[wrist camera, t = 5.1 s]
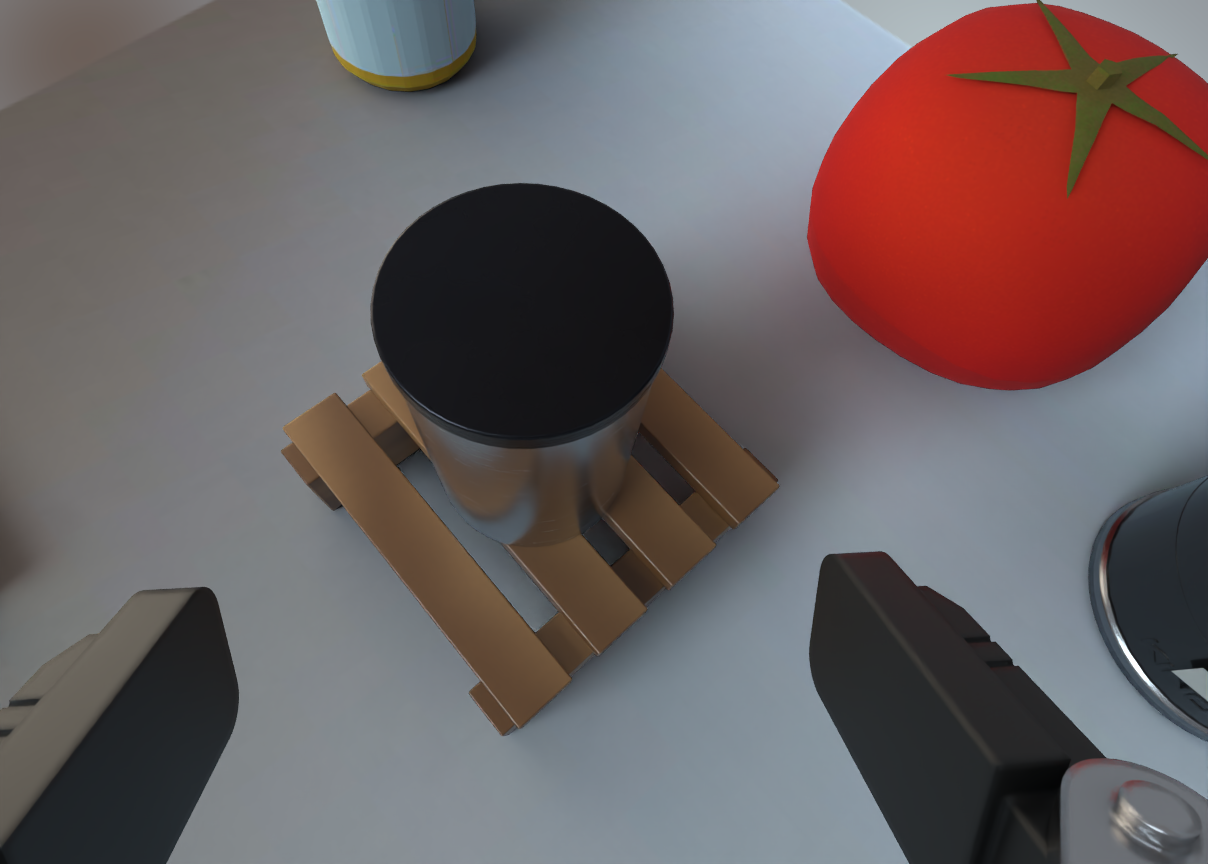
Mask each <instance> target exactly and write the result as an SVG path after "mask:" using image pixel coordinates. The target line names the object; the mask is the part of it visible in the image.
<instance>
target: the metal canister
mask: <svg viewBox="0 0 1208 864" xmlns="http://www.w3.org/2000/svg"><path fill="white" fill-rule="evenodd" d="M673 319H674V307H673V296H672V291H671V287H670V282H669V279H668V277H667V274H666V271H665V268H664V266H663V264H662V262H661V260H660V258H659V257H658V255H657V253H656V251H655V250H654V248H653V247H652V246H651V244H650V243H649V241H648V240H647V239H646V237H645V236H644V235H643V234H642V233H641V232H640V231H639V230H638V229H637V228H636V227H635V226H634V225H633V224H632V223H631V222H629V221H628V220H627V219H626V218H625V217H623V216H622V215H621V214H620V213H618V212H616V211H615V210H613V209H612V208H610V207H609V206H607V205H605V204H603V203H601V202H599V201H597V200H595V199H593V198H591V197H589V196H586V195H583V194H581V193H578V192H575V191H572V190H568V189H564V188H560V187H556V186H549V185H542V184H528V183H515V184H500V185H494V186H488V187H483V188H479V189H476V190H472V191H468V192H465V193H463V194H460V195H458V196H455V197H452V198H450V199H448V200H446V201H444V202H442V203H440V204H438V205H437V206H435V207H433V208H432V209H430V210H429V211H427V212H426V213H424V214H423V215H421V216H420V217H419V218H418V219H416V220H415V221H414V222H413V223H412V224H411V225H410V226H408V227H407V228H406V229H405V231H404V232H403V233H402V234H401V235H400V236H399V237H398V238H397V240H396V241H395V242H394V244H393V245H392V247H391V248H390V250H389V251H388V253H387V254H386V256H385V258H384V260H383V262H382V264H381V266H380V268H379V271H378V273H377V277H376V280H375V283H374V287H373V292H372V299H371V326H372V332H373V337H374V341H375V344H376V347H377V350H378V353H379V356H380V358H381V360H382V362H383V365H384V367H385V369H386V371H387V373H388V374H389V376H390V378H391V380H392V382H393V384H394V385H395V386H396V388H397V389H398V390H399V392H400V393H401V394H402V396H403V397H404V400H405V402H406V404H407V406H408V409H409V411H410V413H411V416H412V418H413V420H414V422H415V425H416V427H417V429H418V432H419V434H420V436H421V438H422V441H423V443H424V445H425V447H426V450H427V452H428V454H429V457H430V459H431V461H432V463H433V466H434V468H435V470H436V472H437V475H438V477H439V479H440V482H441V484H442V486H443V488H444V491H445V493H446V495H447V497H448V499H449V501H450V503H451V505H452V506H453V507H454V509H455V510H456V511H457V513H458V514H459V515H460V516H461V517H462V518H463V519H464V521H465V522H466V523H467V524H469V525H470V526H471V527H473V528H474V529H475V530H476V531H478V532H480V533H481V534H483V535H485V536H486V537H488V538H491V539H493V540H496V541H498V542H501V543H505V544H508V545H512V546H520V547H543V546H551V545H555V544H559V543H562V542H565V541H567V540H570V539H572V538H575V537H577V536H578V535H580V534H582V533H584V532H585V531H587V530H588V529H590V528H591V527H592V526H594V525H595V524H596V523H597V522H598V521H599V520H600V519H601V518H602V517H603V516H604V515H605V514H606V513H607V511H608V510H609V509H610V507H611V506H612V504H613V503H614V501H615V499H616V498H617V496H618V493H619V491H620V488H621V486H622V483H623V480H624V476H625V473H626V470H627V466H628V463H629V460H630V456H631V453H632V450H633V446H634V443H635V440H636V436H637V433H638V430H639V426H640V423H641V419H642V416H643V413H644V409H645V406H646V403H647V399H648V396H649V393H650V389H651V386H652V383H653V382H654V380H655V378H656V377H657V375H658V373H659V371H660V369H661V366H662V364H663V361H664V359H665V356H666V353H667V350H668V346H669V342H670V338H671V334H672V330H673Z"/></svg>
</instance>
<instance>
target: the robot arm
mask: <svg viewBox="0 0 1208 864" xmlns="http://www.w3.org/2000/svg"><path fill="white" fill-rule="evenodd" d="M1089 593H1090V599H1091V605H1092V609H1093V612H1094V616H1095V620H1096V622H1097V625H1098V628H1099V631H1100V633H1101V635H1102V638H1103V640H1104V642H1105V644H1106V646H1107V648H1108V650H1109V652H1110V653H1111V655H1112V657H1113V659H1114V660H1115V662H1116V663H1117V665H1118V666H1119V668H1120V670H1121V671H1122V672H1123V674H1124V675H1125V676H1126V678H1127V679H1128V680H1129V682H1130V683H1131V684H1132V685H1133V686H1134V687H1135V689H1136V690H1137V691H1138V692H1139V693H1140V694H1141V695H1142V696H1143V697H1144V698H1145V699H1146V700H1147V701H1148V702H1149V703H1150V704H1151V705H1152V706H1153V707H1154V708H1155V709H1157V710H1158V711H1159V712H1160V713H1161V714H1162V715H1164V716H1165V717H1166V718H1168V719H1169V720H1170V721H1172V722H1173V723H1174V724H1176V725H1177V726H1179V727H1181V728H1182V729H1184V730H1185V731H1187V732H1189V733H1191V734H1193V735H1194V736H1196V737H1198V738H1200V739H1202V740H1205V741H1207V742H1208V475H1207V476H1204V477H1202V478H1199V479H1197V480H1194V481H1191V482H1189V483H1186V484H1184V485H1181V486H1178V487H1176V488H1171V489H1166V490H1161V491H1158V492H1155V493H1152V494H1149V495H1147V496H1144V497H1142V498H1139V499H1137V500H1134V501H1132V502H1130V503H1128V504H1126V505H1125V506H1123V507H1122V508H1120V509H1119V510H1118V511H1116V512H1115V513H1114V514H1113V515H1112V516H1111V517H1110V518H1109V519H1108V520H1107V521H1106V523H1105V524H1104V526H1103V527H1102V528H1101V530H1100V532H1099V534H1098V536H1097V538H1096V540H1095V543H1094V545H1093V548H1092V553H1091V557H1090V563H1089ZM809 658H810V668H811V673H812V677H813V681H814V684H815V687H816V690H817V692H818V694H819V696H820V698H821V700H822V702H823V704H824V706H825V707H826V709H827V711H828V713H829V715H830V717H831V719H832V721H833V722H834V724H835V726H836V728H837V730H838V732H839V734H840V735H841V737H842V739H843V741H844V743H845V745H846V747H847V748H848V750H849V752H850V754H851V756H852V758H853V760H854V762H855V763H856V765H857V767H858V769H859V771H860V773H861V775H862V776H863V778H864V780H865V782H866V784H867V786H868V788H869V789H870V791H871V793H872V795H873V797H874V799H875V801H876V802H877V804H878V806H879V808H880V810H881V812H882V814H883V816H884V817H885V819H886V821H887V823H888V825H889V827H890V829H891V830H892V832H893V834H894V836H895V838H896V840H897V842H898V843H899V845H900V847H901V849H902V851H903V853H904V855H905V857H906V858H907V860H908V862H909V864H1208V800H1207V799H1205V798H1204V797H1203V796H1201V795H1200V794H1198V793H1197V792H1195V791H1194V790H1192V789H1191V788H1189V787H1187V786H1186V785H1184V784H1182V783H1181V782H1179V781H1177V780H1175V779H1173V778H1171V777H1169V776H1167V775H1165V774H1163V773H1160V772H1158V771H1155V770H1153V769H1150V768H1148V767H1145V766H1142V765H1138V764H1135V763H1132V762H1127V761H1122V760H1117V759H1107V758H1106V757H1105V756H1104V755H1103V754H1102V753H1101V752H1100V751H1099V750H1098V749H1097V748H1096V747H1095V745H1094V744H1093V743H1092V742H1091V741H1090V740H1089V739H1088V738H1087V737H1086V736H1085V735H1084V734H1083V733H1082V732H1081V731H1080V730H1079V729H1078V728H1077V727H1076V726H1075V725H1074V724H1073V722H1072V721H1071V720H1070V719H1069V718H1068V717H1067V716H1066V715H1065V714H1064V713H1063V712H1062V711H1061V710H1060V709H1059V708H1058V707H1057V706H1056V705H1055V704H1054V703H1053V702H1052V700H1051V699H1050V698H1049V697H1048V696H1047V695H1046V694H1045V693H1044V692H1043V691H1042V690H1041V689H1040V688H1039V687H1038V686H1037V685H1036V684H1035V683H1034V682H1033V681H1032V680H1031V679H1030V677H1029V676H1028V675H1027V674H1026V673H1025V672H1024V671H1023V670H1022V669H1021V668H1020V667H1019V666H1014V665H1013V662H1012V659H1011V658H1010V657H1009V655H1008V654H1007V653H1006V652H1005V651H1004V650H1003V649H1002V648H1001V647H1000V646H999V645H998V644H997V643H996V642H991V640H990V636H989V635H988V633H987V632H986V631H985V630H984V629H983V628H982V627H981V626H980V625H979V624H978V623H977V622H976V621H975V620H974V619H973V618H972V617H971V616H970V615H969V614H968V613H967V612H966V610H965V609H964V608H962V607H960V606H959V605H957V604H956V603H954V602H952V601H951V600H949V599H947V598H946V597H944V596H942V595H941V594H939V593H937V592H936V591H934V590H932V589H931V588H929V587H928V586H916V585H915V584H914V583H913V581H912V580H911V579H910V578H909V577H908V576H907V575H906V574H905V573H904V571H903V570H902V569H901V568H900V567H899V566H898V565H897V564H896V562H895V561H894V560H893V559H892V558H891V557H890V556H889V555H888V554H886V553H885V552H881V551H879V552H861V553H843V554H829V555H827V556H826V557H825V558H824V559H823V561H822V564H821V568H820V574H819V581H818V588H817V595H816V602H815V610H814V617H813V624H812V631H811V638H810V647H809ZM9 702H10V704H9V707H8V708H2V709H1V710H0V864H166V863H167V861H168V859H169V857H170V855H171V853H172V851H173V849H174V847H175V845H176V843H177V841H178V839H179V837H180V835H181V833H182V831H183V829H184V827H185V825H186V823H187V821H188V819H189V817H190V815H191V813H192V812H193V810H194V808H195V806H196V804H197V802H198V800H199V798H200V796H201V794H202V792H203V790H204V788H205V786H206V784H207V782H208V780H209V778H210V776H211V774H212V772H213V770H214V768H215V766H216V764H217V762H218V760H219V758H220V756H221V754H222V752H223V750H224V748H225V746H226V744H227V742H228V740H229V739H230V736H231V734H232V732H233V729H234V726H235V722H236V718H237V713H238V704H239V689H238V682H237V678H236V674H235V670H234V665H233V661H232V657H231V653H230V649H229V645H228V641H227V637H226V633H225V629H224V625H223V621H222V617H221V613H220V609H219V605H218V601H217V598H216V596H215V594H214V593H213V591H212V590H210V589H209V588H207V587H195V588H176V589H158V590H142V591H139V592H137V593H136V594H134V595H133V596H132V597H131V598H130V599H129V600H128V601H127V603H126V604H125V605H124V606H123V607H122V608H121V609H120V610H119V612H118V613H117V614H116V615H115V616H114V617H113V618H112V619H111V621H110V622H109V623H108V624H107V625H106V626H105V627H104V628H103V630H102V631H101V632H100V633H99V634H90V635H88V636H86V637H85V638H83V639H82V640H80V641H79V642H77V643H75V644H74V645H72V646H71V647H69V648H68V649H66V650H65V651H63V652H62V653H60V654H59V655H57V656H56V657H54V658H53V659H51V660H50V661H48V662H47V663H45V664H44V665H42V667H41V668H40V669H39V670H38V671H37V672H36V673H35V674H34V675H33V676H32V677H31V678H30V679H29V680H28V681H27V682H26V683H25V685H24V686H23V687H22V688H21V689H20V690H19V691H18V692H17V693H16V694H15V695H14V696H13V697H12V698H11V699H10V700H9Z"/></svg>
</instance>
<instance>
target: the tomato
mask: <svg viewBox="0 0 1208 864" xmlns="http://www.w3.org/2000/svg"><path fill="white" fill-rule="evenodd" d="M1176 55H1177V54H1169V53H1168V52H1166V51H1165V50H1163V49H1162V48H1160V47H1159V46H1157V45H1155V44H1153V43H1151V42H1149V41H1148V40H1146V39H1144V38H1142V37H1140V36H1139V35H1137V34H1135V33H1133V32H1131V31H1128V30H1126V29H1124V28H1122V27H1119V26H1117V25H1115V24H1112V23H1110V22H1107V21H1104V20H1102V19H1099V18H1096V17H1094V16H1091V15H1088V14H1085V13H1082V12H1079V11H1074V10H1072V9H1068V8H1064V7H1060V6H1054V5H1047V4H1043V3H1042V2H1041V1H1040V0H1037V3H1031V4H1019V5H1008V6H999V7H990V8H985V9H982V10H979V11H977V12H974V13H971V14H969V15H966V16H964V17H962V18H960V19H958V20H957V21H955V22H953V23H951V24H949V25H948V26H946V27H944V28H943V29H941V30H939V31H937V32H936V33H934V34H932V35H931V36H929V37H928V38H926V39H924V40H922V41H921V42H919V43H917V44H916V45H915V46H913V47H912V48H911V49H909V50H908V51H907V52H906V53H904V54H903V55H902V56H900V57H899V58H898V59H897V60H896V61H895V62H894V63H893V64H892V65H891V66H890V67H889V68H888V69H887V70H886V71H885V72H884V73H883V74H882V75H881V76H880V77H879V78H878V79H877V80H876V81H875V82H874V83H873V84H872V85H871V86H870V87H869V89H868V90H867V91H866V92H865V94H864V95H863V96H862V97H861V99H860V100H859V101H858V102H857V104H856V105H855V106H854V108H853V109H852V111H851V112H850V113H849V115H848V116H847V118H846V119H845V121H844V122H843V124H842V125H841V127H840V128H839V130H838V131H837V133H836V134H835V136H834V138H833V140H832V142H831V144H830V146H829V148H828V150H827V152H826V155H825V157H824V159H823V161H822V164H821V166H820V169H819V172H818V175H817V177H816V180H815V183H814V186H813V189H812V197H811V206H810V215H809V224H808V234H807V240H808V244H809V248H810V252H811V256H812V260H813V264H814V268H815V271H816V275H817V278H818V280H819V281H820V283H821V284H822V286H823V287H824V289H825V290H826V292H827V293H828V295H829V296H830V298H831V299H832V301H833V302H834V303H835V304H836V305H837V306H838V307H839V308H840V309H841V310H842V311H843V312H844V313H845V314H846V315H847V316H848V317H849V318H850V319H851V320H852V321H853V322H854V323H855V324H857V325H858V326H859V327H860V328H862V329H863V330H864V331H865V332H867V333H868V334H869V335H870V336H872V337H873V338H874V339H875V340H877V341H878V342H880V343H881V344H883V345H884V346H886V347H887V348H889V349H890V350H892V351H893V352H895V353H896V354H898V355H899V356H901V357H903V358H905V359H906V360H908V361H910V362H912V363H914V364H916V365H918V366H919V367H921V368H923V369H925V370H927V371H929V372H931V373H933V374H936V375H938V376H941V377H944V378H947V379H949V380H952V381H955V382H957V383H960V384H965V385H971V386H977V387H982V388H988V389H999V390H1022V389H1037V388H1042V387H1045V386H1048V385H1051V384H1054V383H1057V382H1060V381H1063V380H1066V379H1068V378H1071V377H1073V376H1075V375H1077V374H1080V373H1082V372H1084V371H1086V370H1089V369H1091V368H1093V367H1094V366H1096V365H1097V364H1099V363H1100V362H1102V361H1103V360H1105V359H1106V358H1108V357H1109V356H1110V355H1112V354H1113V353H1115V352H1116V351H1118V350H1119V349H1120V348H1121V347H1123V346H1124V345H1125V344H1127V343H1128V342H1129V341H1131V340H1132V339H1133V338H1135V337H1136V336H1137V335H1138V334H1140V333H1141V332H1142V331H1143V330H1144V329H1146V328H1147V327H1148V326H1149V325H1150V324H1151V323H1152V322H1153V321H1154V320H1155V319H1156V318H1157V317H1159V316H1160V315H1161V314H1162V313H1163V312H1164V311H1165V310H1166V309H1167V308H1168V307H1169V306H1170V305H1171V304H1172V302H1173V301H1174V300H1175V299H1176V298H1177V296H1178V295H1179V294H1180V293H1181V292H1182V290H1183V289H1184V288H1185V287H1186V286H1187V284H1188V283H1189V282H1190V281H1191V279H1192V278H1193V277H1194V275H1195V274H1196V273H1197V271H1198V270H1199V269H1200V268H1201V266H1202V265H1203V264H1204V262H1205V261H1206V260H1207V259H1208V83H1206V81H1205V80H1204V79H1203V78H1201V77H1200V76H1199V75H1198V74H1196V73H1195V72H1194V71H1192V70H1191V69H1190V68H1189V67H1187V66H1186V65H1185V64H1183V63H1182V62H1181V61H1179V60H1178V59H1177V58H1175V56H1176Z"/></svg>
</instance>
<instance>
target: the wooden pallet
mask: <svg viewBox="0 0 1208 864" xmlns="http://www.w3.org/2000/svg"><path fill="white" fill-rule="evenodd" d="M362 377H363V379H364V380H365V382H366V384H367V386H368V387H369V388H370V389H371V390H369V391H368V392H366V393H365V394H363V395H362V396H360V397H359V398H357V399H356V400H354V401H353V402H351V403H350V404H348V405H347V406H346V404H345V403H344V402H343V401H342V400H341V398H340V397H339V396H338V395H337V394H336V393H333V394H332V395H330V396H329V397H327V398H326V399H324V400H323V401H321V402H320V403H318V404H317V405H315V406H314V407H312V408H311V409H309V410H308V411H306V412H305V413H303V414H302V415H300V416H299V417H297V418H296V419H294V420H293V421H291V422H290V423H288V424H287V425H285V426H284V427H283V430H284V431H285V433H286V434H287V435H288V437H289V438H290V439H291V440H292V443H291V444H289V445H288V446H287V447H285V448H284V449H282V450H281V452H282V454H283V455H284V456H285V458H286V459H287V460H288V462H289V463H290V464H291V465H292V467H293V468H294V469H295V471H296V472H297V473H298V474H299V476H300V477H301V478H302V480H303V481H304V482H305V483H306V485H307V486H308V487H309V488H310V489H311V490H312V491H313V492H314V493H315V494H316V495H317V496H318V497H319V498H320V499H321V500H322V501H323V502H324V503H325V504H326V505H327V506H328V507H329V508H330V509H331V510H333V511H334V510H335V509H337V508H338V507H340V506H341V505H343V507H344V508H345V509H346V510H347V512H348V513H349V514H350V515H351V517H352V518H353V519H354V521H355V522H356V523H357V524H358V526H359V527H360V528H361V529H362V531H363V532H364V533H365V535H366V536H367V537H368V538H369V540H370V541H371V542H372V543H373V545H374V546H375V547H376V549H377V550H378V551H379V552H380V554H381V555H382V556H383V557H384V559H385V560H386V561H387V563H388V564H389V565H390V566H391V568H392V569H393V570H394V571H395V573H396V574H397V575H398V577H399V578H400V579H401V580H402V582H403V583H404V584H405V585H406V587H407V588H408V589H409V591H410V592H411V593H412V594H413V596H414V597H415V598H416V599H417V601H418V602H419V603H420V605H421V606H422V607H423V608H424V610H425V611H426V612H427V613H428V615H429V616H430V617H431V619H432V620H433V621H434V622H435V624H436V625H437V626H438V627H439V629H440V630H441V631H442V633H443V634H444V635H445V636H446V638H447V639H448V640H449V641H450V643H451V644H452V645H453V647H454V648H455V649H456V650H457V652H458V653H459V654H460V655H461V657H462V658H463V659H464V661H465V662H466V663H467V664H468V666H469V667H470V668H471V669H472V671H473V672H474V673H475V675H476V676H477V677H478V678H479V680H480V681H481V682H479V683H478V684H477V685H476V686H475V687H474V688H473V689H471V690H470V691H469V695H470V696H471V697H472V699H473V700H474V701H475V703H476V704H477V705H478V706H479V708H480V709H481V710H482V712H483V713H484V714H485V715H486V717H487V718H488V719H489V721H490V722H491V723H492V724H493V726H494V727H495V728H496V730H497V731H498V732H499V733H500V735H501V736H506V735H509V734H510V733H511V732H512V731H514V730H515V729H516V728H518V729H521V728H523V727H524V726H525V725H526V724H527V723H528V722H529V721H530V720H531V719H532V718H533V717H534V716H536V715H537V714H538V713H539V712H540V711H541V710H542V709H543V708H544V707H545V706H546V705H547V704H548V703H549V702H551V701H552V700H553V699H554V698H555V697H556V696H557V695H558V694H559V693H560V692H561V691H562V690H563V689H564V688H566V687H567V686H568V685H569V684H570V683H571V681H572V676H573V675H574V674H575V673H576V672H577V671H578V670H579V669H580V668H581V667H582V666H583V665H585V664H586V663H587V662H588V661H589V660H590V659H591V658H592V657H593V656H594V655H596V656H600V655H601V654H602V653H603V652H604V651H605V650H606V649H607V648H608V647H609V646H611V645H612V644H613V643H614V642H615V641H616V640H617V639H618V638H619V637H620V636H621V635H622V634H623V633H624V632H626V631H627V630H628V629H629V628H630V627H631V626H632V625H633V624H634V623H635V622H636V621H637V620H638V619H640V618H641V617H642V616H643V615H644V614H645V613H646V611H647V606H648V605H649V604H650V603H651V602H652V601H653V600H654V599H656V598H657V597H658V596H659V595H660V594H661V593H662V592H663V591H664V590H665V589H667V590H671V589H672V588H673V587H674V586H675V585H676V584H677V583H678V582H679V581H680V580H681V579H682V578H683V577H685V576H686V575H687V574H688V573H689V572H690V571H691V570H692V569H693V568H694V567H695V566H696V565H697V564H698V563H700V562H701V561H702V560H703V559H704V558H705V557H706V556H707V555H708V554H709V553H710V552H711V551H712V550H713V549H714V548H715V547H716V542H717V541H718V540H719V539H720V538H721V537H722V536H723V535H724V534H725V533H727V532H728V531H729V530H730V529H731V528H732V529H733V530H735V529H736V528H737V527H738V526H739V525H740V524H741V523H742V522H744V521H745V520H746V519H747V518H748V517H749V516H750V515H751V514H752V513H753V512H754V511H755V510H756V509H757V508H759V507H760V506H761V505H762V504H763V503H764V502H765V501H766V500H767V499H768V498H769V497H770V496H771V495H772V494H773V493H774V492H775V491H776V490H777V489H778V488H779V487H780V486H779V484H778V483H777V482H778V479H777V478H776V477H775V476H774V475H773V474H772V473H771V472H770V471H769V470H768V469H767V468H766V467H765V466H764V465H763V464H762V463H761V462H760V461H759V460H758V459H757V458H756V457H755V456H754V455H753V454H752V453H751V452H750V451H749V450H748V449H747V448H744V449H742V448H741V447H740V446H739V445H738V444H737V443H736V442H735V441H734V440H733V439H732V438H731V437H730V436H729V435H728V434H727V433H726V432H725V431H724V430H723V429H722V428H721V427H720V426H719V425H718V424H717V423H716V422H715V421H714V420H713V419H712V418H711V417H710V416H709V415H708V414H707V413H706V412H705V411H704V410H703V409H702V408H701V407H700V406H699V405H698V404H697V403H696V402H695V401H694V400H693V399H692V398H691V397H690V396H689V395H688V394H687V393H686V392H685V391H684V390H683V389H682V388H681V387H680V386H679V385H678V384H677V383H676V382H675V381H674V380H673V379H672V378H671V377H670V376H669V375H668V374H667V373H666V372H665V371H664V370H663V369H662V368H661V369H660V371H659V373H658V375H657V377H656V378H655V380H654V382H653V383H652V386H651V389H650V393H649V396H648V399H647V403H646V406H645V409H644V413H643V416H642V419H641V423H640V426H639V430H638V432H639V433H640V434H641V435H642V436H643V437H644V438H645V439H646V440H647V441H648V442H649V443H650V444H651V445H652V446H653V447H654V448H655V449H656V450H657V451H658V453H659V454H660V455H661V456H662V457H663V458H664V459H665V460H666V461H667V462H668V463H669V464H670V465H671V466H672V467H673V468H674V469H675V470H676V471H677V472H678V473H679V474H680V475H681V476H682V477H683V478H684V479H685V480H686V482H687V483H688V484H689V485H690V486H691V487H692V488H693V489H694V490H695V492H694V493H693V494H692V495H691V496H690V497H689V498H687V499H686V500H685V501H684V502H683V503H682V504H681V505H678V503H677V502H676V501H675V500H674V499H673V498H672V497H671V496H670V495H669V494H668V493H667V492H666V491H665V490H664V489H663V488H662V487H661V486H660V485H659V483H658V482H657V481H656V480H655V479H654V478H653V477H652V476H651V475H650V474H649V473H648V472H647V471H646V470H645V469H644V468H643V467H642V466H641V465H640V463H639V462H638V461H637V460H636V459H635V458H634V457H633V456H632V455H631V456H630V460H629V463H628V466H627V470H626V473H625V476H624V480H623V483H622V486H621V488H620V491H619V493H618V496H617V498H616V499H615V501H614V503H613V504H612V506H611V507H610V509H609V510H608V511H607V513H606V514H605V515H604V516H603V517H602V518H603V519H604V521H605V522H606V523H607V524H608V525H609V526H610V527H611V528H612V529H613V530H614V532H615V533H616V534H617V535H618V536H619V537H620V538H621V539H622V540H623V541H624V543H625V544H626V545H627V546H628V547H629V548H630V550H629V551H627V552H626V553H625V554H624V555H623V556H622V557H621V558H620V559H618V560H617V561H616V562H615V563H614V564H613V565H612V566H611V567H610V566H609V564H608V563H607V562H606V561H605V560H604V559H603V558H602V557H601V555H600V554H599V553H598V552H597V551H596V550H595V549H594V548H593V546H592V545H591V544H590V543H589V542H588V541H587V540H586V539H585V537H584V536H583V535H582V534H580V535H578V536H577V537H575V538H572V539H570V540H567V541H565V542H562V543H559V544H555V545H551V546H543V547H520V546H512V545H508V544H505V543H501V542H500V543H501V544H502V545H503V546H504V548H505V549H506V550H507V551H508V552H509V553H510V555H511V556H512V557H513V558H514V559H515V561H516V562H517V563H518V564H519V565H520V566H521V568H522V569H523V570H524V571H525V572H526V574H527V575H528V576H529V577H530V578H531V579H532V581H533V582H534V583H535V584H536V585H537V587H538V588H539V589H540V590H541V591H542V592H543V594H544V595H545V596H546V597H547V598H548V599H549V601H550V602H551V603H552V604H553V605H554V607H555V608H556V609H557V610H558V611H559V613H557V614H556V615H555V616H554V617H553V618H552V619H551V620H549V621H548V622H547V623H546V624H545V625H544V626H543V627H542V628H540V629H539V630H538V631H537V632H536V633H534V631H533V630H532V629H531V628H530V627H529V625H528V624H527V623H526V622H525V621H524V619H523V618H522V617H521V616H520V615H519V613H518V612H517V611H516V610H515V608H514V607H513V606H512V605H511V604H510V602H509V601H508V600H507V599H506V598H505V596H504V595H503V594H502V593H501V592H500V590H499V589H498V588H497V587H496V586H495V584H494V583H493V582H492V581H491V579H490V578H489V577H488V576H487V575H486V573H485V572H484V571H483V570H482V569H481V567H480V566H479V565H478V564H477V563H476V561H475V560H474V559H473V558H472V557H471V555H470V554H469V553H468V552H467V551H466V549H465V548H464V547H463V546H462V544H461V543H460V542H459V541H458V540H457V538H456V537H455V536H454V535H453V534H452V532H451V531H450V530H449V529H448V528H447V526H446V525H445V524H444V523H443V522H442V520H441V519H440V518H439V517H438V515H437V514H436V513H435V512H434V511H433V509H432V508H431V507H430V506H429V505H428V503H427V502H426V501H425V500H424V499H423V497H422V496H421V495H420V494H419V493H418V491H417V490H416V489H415V488H414V487H413V485H412V484H411V483H410V482H409V480H408V479H407V478H406V477H405V476H404V474H403V473H402V472H401V471H400V470H399V468H398V467H397V466H396V465H397V464H399V463H400V462H401V461H403V460H404V459H405V458H407V457H408V456H410V455H411V454H412V453H414V452H415V451H416V450H418V449H419V448H421V450H422V451H423V452H424V453H425V454H426V456H427V457H428V458H429V459H430V457H429V454H428V452H427V450H426V447H425V445H424V443H423V441H422V438H421V436H420V434H419V432H418V429H417V427H416V425H415V422H414V420H413V418H412V416H411V413H410V411H409V409H408V406H407V404H406V402H405V400H404V397H403V396H402V394H401V393H400V392H399V390H398V389H397V388H396V386H395V385H394V384H393V382H392V380H391V378H390V376H389V374H388V373H387V371H386V369H385V367H384V365H383V362H382V361H381V362H380V363H378V364H377V365H375V366H374V367H372V368H371V369H369V370H368V371H366V372H365V373H363V374H362ZM430 460H431V459H430Z"/></svg>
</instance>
